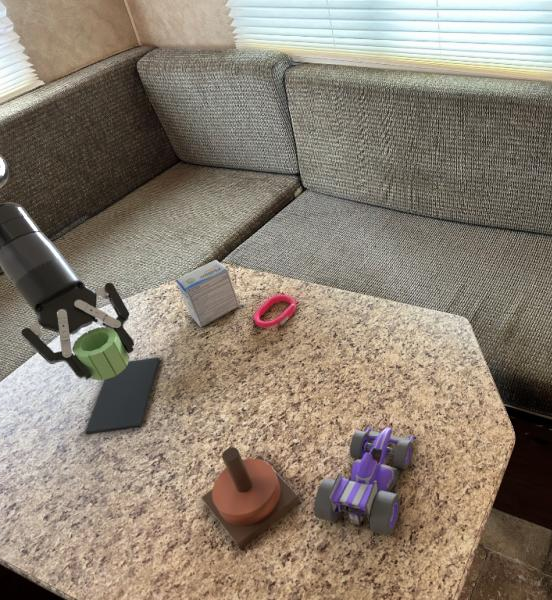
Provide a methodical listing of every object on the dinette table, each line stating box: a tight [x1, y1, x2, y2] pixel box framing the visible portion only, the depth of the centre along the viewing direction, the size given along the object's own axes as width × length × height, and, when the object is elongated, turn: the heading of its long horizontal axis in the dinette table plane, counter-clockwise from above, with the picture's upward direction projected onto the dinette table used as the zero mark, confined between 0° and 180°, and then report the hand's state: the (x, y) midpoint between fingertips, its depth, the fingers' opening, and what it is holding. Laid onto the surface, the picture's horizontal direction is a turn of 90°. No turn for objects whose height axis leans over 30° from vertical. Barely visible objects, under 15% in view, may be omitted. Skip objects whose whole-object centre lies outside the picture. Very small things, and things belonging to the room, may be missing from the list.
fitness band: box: [253, 294, 297, 328], centre depth 106 cm, size 8×6×2 cm
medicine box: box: [175, 259, 241, 328], centre depth 106 cm, size 8×4×9 cm, turn 130°
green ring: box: [71, 326, 130, 381], centre depth 89 cm, size 6×6×5 cm
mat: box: [85, 357, 161, 435], centre depth 95 cm, size 14×8×1 cm, turn 5°
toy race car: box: [313, 426, 415, 537], centre depth 77 cm, size 10×15×6 cm, turn 162°
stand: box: [200, 447, 301, 551], centre depth 75 cm, size 9×9×10 cm
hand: (110, 364), depth 89 cm, fingers closed on green ring, 6 cm apart
